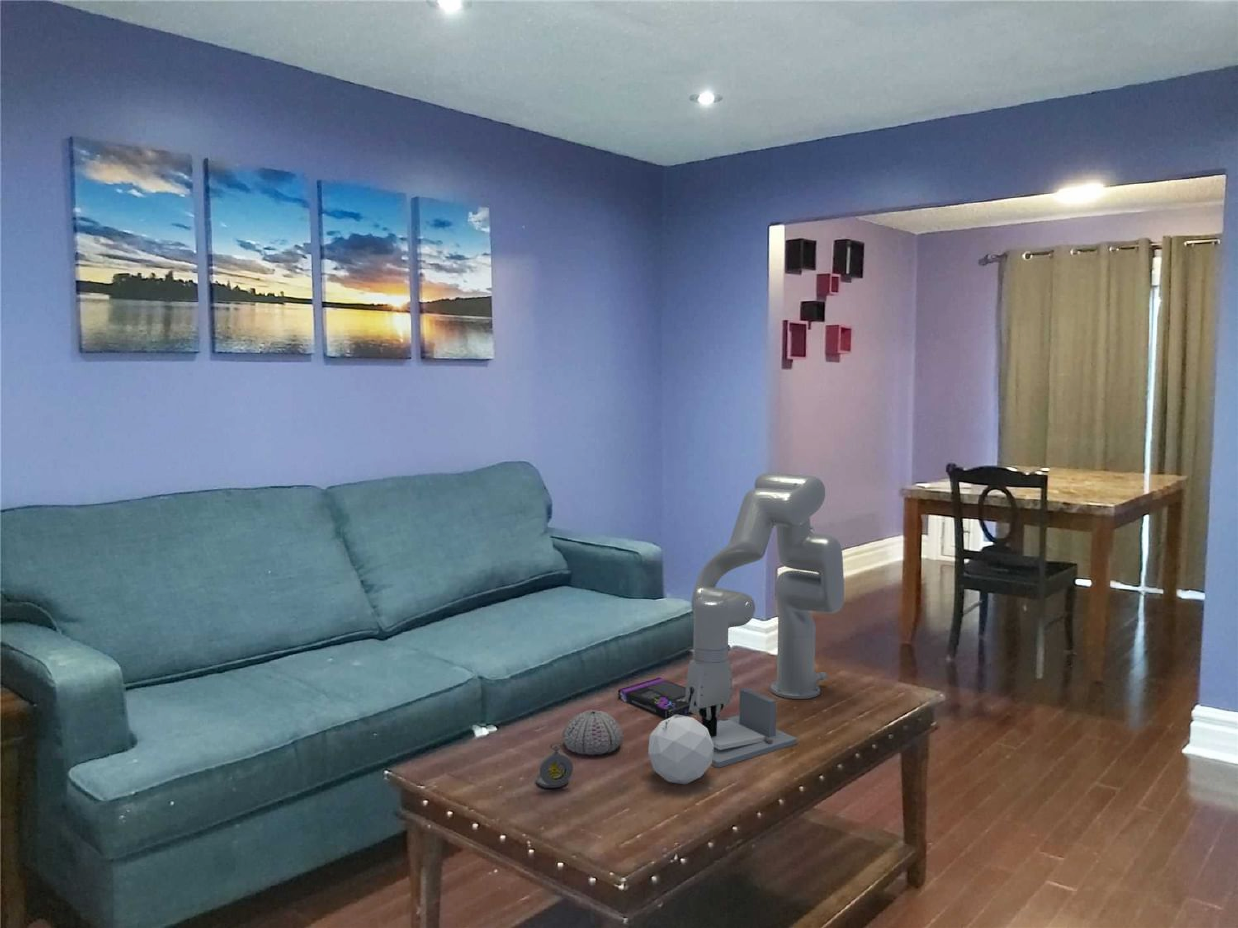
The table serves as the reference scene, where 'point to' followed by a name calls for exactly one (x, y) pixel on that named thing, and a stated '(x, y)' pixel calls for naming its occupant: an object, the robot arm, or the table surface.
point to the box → (657, 698)
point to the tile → (734, 735)
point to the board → (750, 748)
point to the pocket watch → (555, 769)
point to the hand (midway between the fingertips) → (709, 734)
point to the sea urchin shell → (592, 733)
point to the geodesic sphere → (680, 749)
